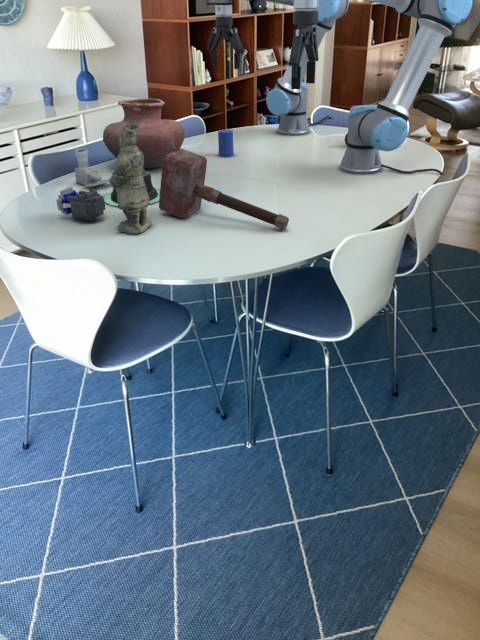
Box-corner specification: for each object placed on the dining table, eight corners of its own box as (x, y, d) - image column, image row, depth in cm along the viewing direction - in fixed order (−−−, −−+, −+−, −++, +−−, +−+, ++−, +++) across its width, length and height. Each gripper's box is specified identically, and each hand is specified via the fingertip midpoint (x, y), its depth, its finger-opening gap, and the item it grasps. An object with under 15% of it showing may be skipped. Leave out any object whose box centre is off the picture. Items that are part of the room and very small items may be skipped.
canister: (218, 154, 236) (217, 129, 231) (232, 153, 237) (232, 129, 232) (219, 157, 231) (218, 132, 226) (234, 156, 232) (233, 132, 227)
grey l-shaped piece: (86, 146, 202) (111, 153, 193) (91, 178, 208) (115, 186, 199) (65, 151, 196) (90, 158, 187) (70, 183, 202) (95, 192, 193)
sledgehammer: (299, 190, 156) (179, 147, 167) (285, 200, 148) (161, 154, 160) (286, 244, 166) (174, 200, 177) (272, 256, 158) (156, 209, 170)
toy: (69, 184, 172) (107, 190, 166) (73, 210, 176) (111, 217, 170) (49, 192, 165) (88, 198, 160) (54, 219, 170) (93, 226, 164)
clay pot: (194, 158, 230) (190, 94, 217) (174, 179, 204) (168, 107, 192) (124, 156, 235) (116, 93, 222) (96, 176, 209) (85, 106, 197)
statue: (131, 220, 168) (117, 116, 152) (158, 224, 164) (147, 118, 149) (109, 233, 159) (93, 124, 144) (138, 237, 156) (124, 126, 140)
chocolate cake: (91, 202, 180) (113, 186, 197) (142, 231, 182) (160, 212, 199) (107, 162, 172) (129, 148, 190) (160, 192, 174) (177, 176, 192)
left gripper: (197, 16, 251) (200, 67, 262) (240, 16, 238) (241, 70, 249) (208, 15, 256) (210, 65, 267) (251, 15, 243) (251, 68, 254)
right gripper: (308, 8, 177) (305, 80, 188) (278, 11, 158) (277, 91, 169) (330, 8, 174) (326, 81, 185) (303, 11, 155) (300, 92, 166)
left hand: (225, 68), depth 258 cm, fingers open, 13 cm apart
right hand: (303, 86), depth 177 cm, fingers open, 13 cm apart
